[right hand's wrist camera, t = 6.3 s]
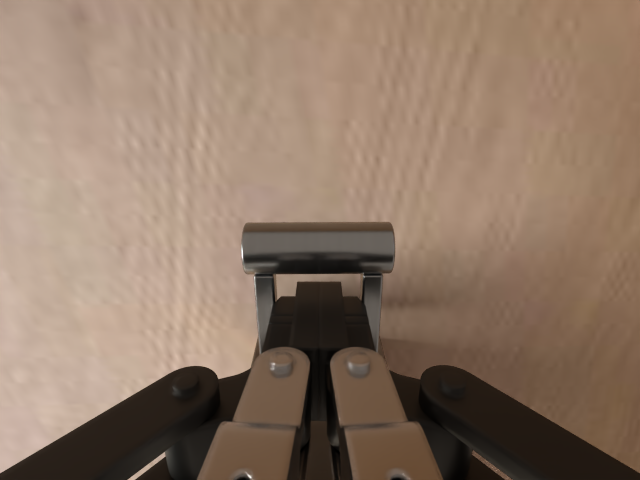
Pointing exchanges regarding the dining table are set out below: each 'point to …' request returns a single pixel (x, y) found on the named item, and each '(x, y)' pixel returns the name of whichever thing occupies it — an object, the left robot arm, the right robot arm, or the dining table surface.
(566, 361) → the dining table surface
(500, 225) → the dining table surface
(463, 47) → the dining table surface
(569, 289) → the dining table surface
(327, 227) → the drawer
